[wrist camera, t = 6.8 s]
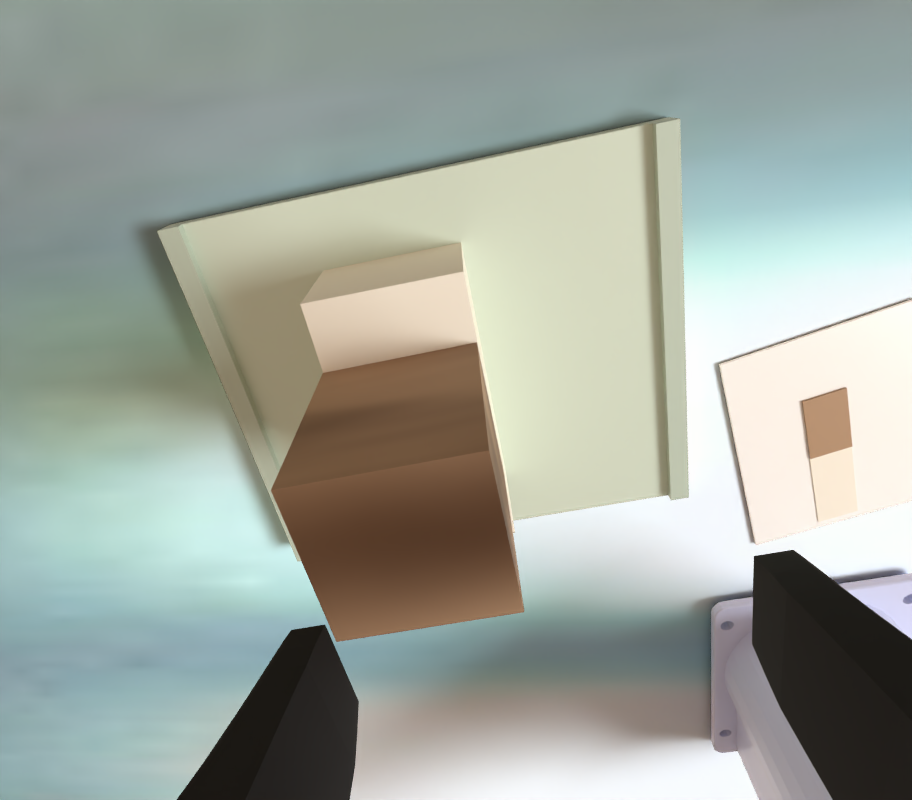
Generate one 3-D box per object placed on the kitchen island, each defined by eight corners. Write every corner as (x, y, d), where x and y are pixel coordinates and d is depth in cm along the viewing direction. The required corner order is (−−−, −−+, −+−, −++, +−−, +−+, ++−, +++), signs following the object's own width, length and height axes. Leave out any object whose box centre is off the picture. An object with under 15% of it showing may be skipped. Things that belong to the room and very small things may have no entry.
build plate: (679, 481, 21) (688, 497, 20) (302, 544, 22) (297, 561, 22) (668, 117, 16) (680, 118, 15) (170, 224, 17) (156, 231, 16)
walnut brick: (503, 473, 17) (524, 611, 12) (365, 497, 17) (336, 641, 13) (476, 342, 15) (489, 450, 10) (322, 373, 15) (271, 490, 11)
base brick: (506, 474, 20) (515, 532, 18) (392, 494, 21) (384, 553, 18) (461, 242, 17) (463, 271, 14) (323, 270, 17) (299, 304, 14)
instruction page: (922, 495, 22) (925, 498, 22) (754, 543, 23) (756, 546, 22) (915, 297, 18) (919, 299, 18) (718, 364, 19) (720, 366, 19)
